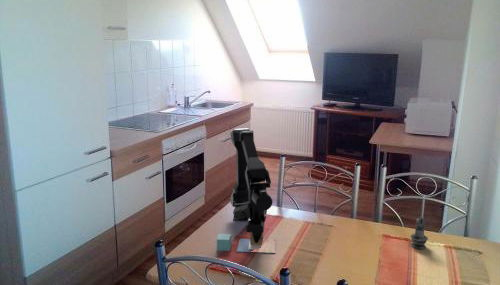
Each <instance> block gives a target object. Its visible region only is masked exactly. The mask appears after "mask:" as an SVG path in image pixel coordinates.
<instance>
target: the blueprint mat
mask: <svg viewBox="0 0 500 285" xmlns="http://www.w3.org/2000/svg"><path fill="white" fill-rule="evenodd" d="M259 248H261V245H250V238H239V242H238V245H237V247H236V253H244V252H251V251H253V250H254V249H259ZM252 249H253V250H252Z"/></svg>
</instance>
